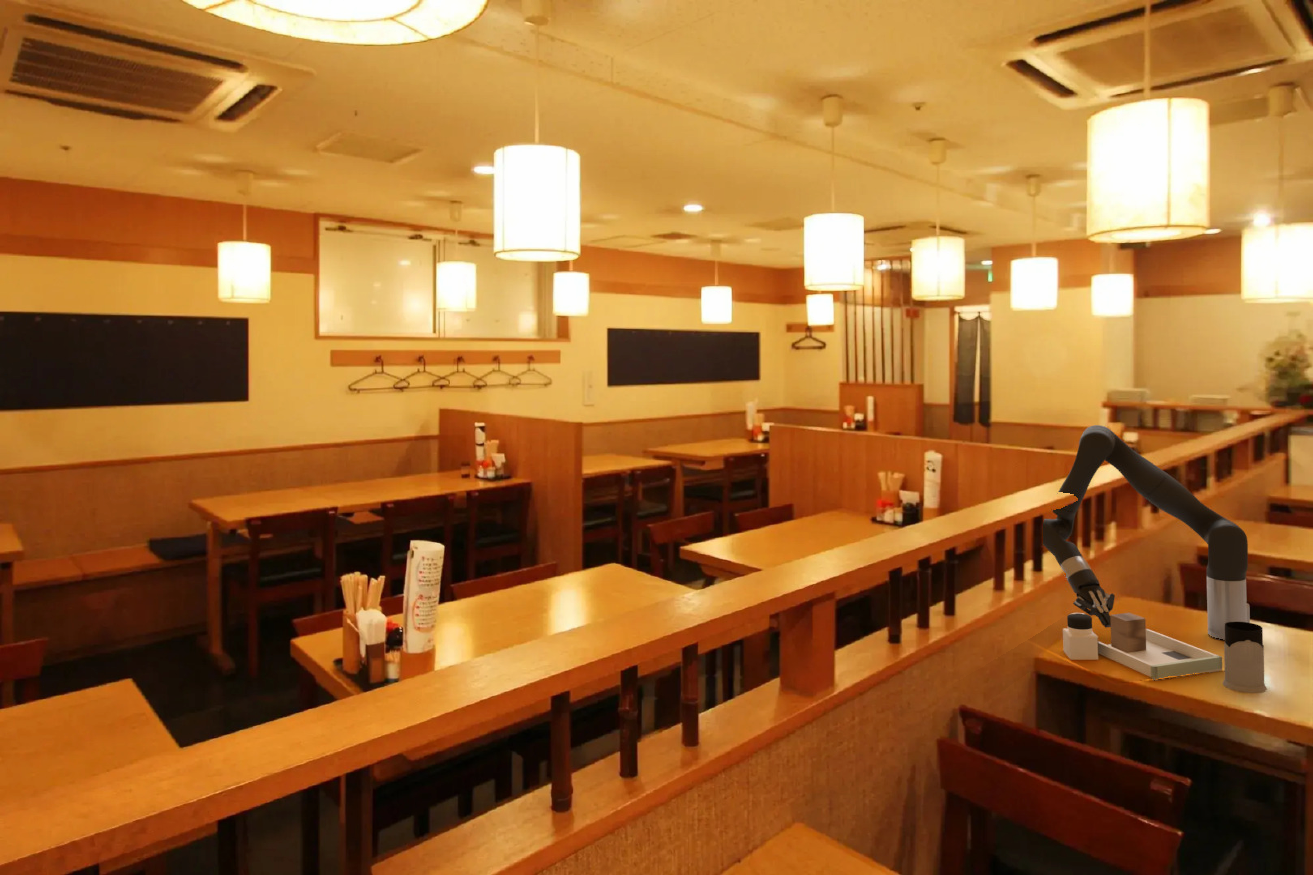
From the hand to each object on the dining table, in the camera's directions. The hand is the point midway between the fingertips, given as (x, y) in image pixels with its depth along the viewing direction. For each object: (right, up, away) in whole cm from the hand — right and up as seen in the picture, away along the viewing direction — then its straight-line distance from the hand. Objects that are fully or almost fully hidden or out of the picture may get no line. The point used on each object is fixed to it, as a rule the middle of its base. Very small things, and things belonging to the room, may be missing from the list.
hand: (1109, 625), depth 235 cm
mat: (+10, -5, -14) cm, 18 cm away
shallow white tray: (+3, -6, -15) cm, 16 cm away
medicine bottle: (-13, -7, -9) cm, 17 cm away
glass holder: (+14, -6, -33) cm, 36 cm away
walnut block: (+1, -5, -7) cm, 8 cm away
